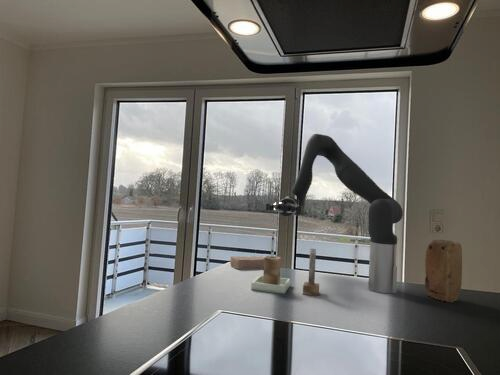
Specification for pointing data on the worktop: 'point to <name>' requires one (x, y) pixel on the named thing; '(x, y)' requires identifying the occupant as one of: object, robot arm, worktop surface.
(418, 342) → the worktop surface
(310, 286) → the stand
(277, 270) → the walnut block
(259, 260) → the brick
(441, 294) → the block
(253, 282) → the tray
